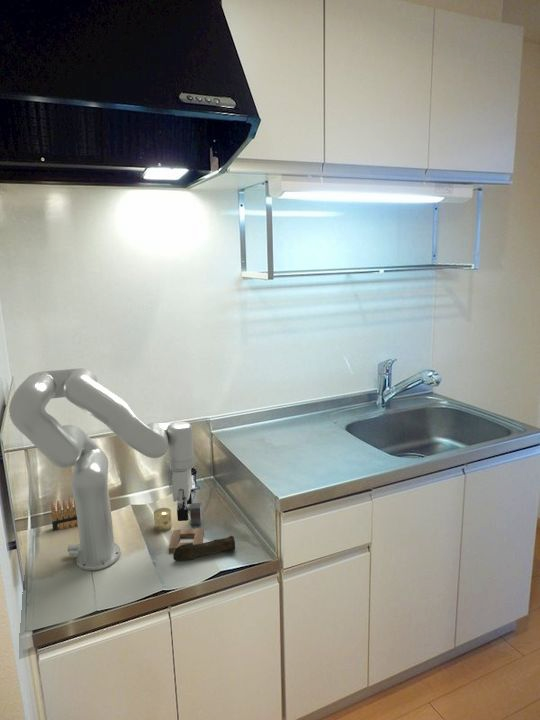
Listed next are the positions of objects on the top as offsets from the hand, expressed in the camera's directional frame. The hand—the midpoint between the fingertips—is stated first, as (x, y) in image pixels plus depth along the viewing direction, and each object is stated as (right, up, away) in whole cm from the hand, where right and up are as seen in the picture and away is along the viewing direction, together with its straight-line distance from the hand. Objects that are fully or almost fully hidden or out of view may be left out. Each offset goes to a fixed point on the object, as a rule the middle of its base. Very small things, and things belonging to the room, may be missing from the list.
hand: (185, 511), depth 144 cm
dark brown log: (+12, -15, -2) cm, 20 cm away
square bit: (+2, -9, +13) cm, 16 cm away
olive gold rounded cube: (-9, -9, +11) cm, 17 cm away
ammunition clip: (-41, -10, +11) cm, 44 cm away
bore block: (0, -11, +2) cm, 11 cm away
